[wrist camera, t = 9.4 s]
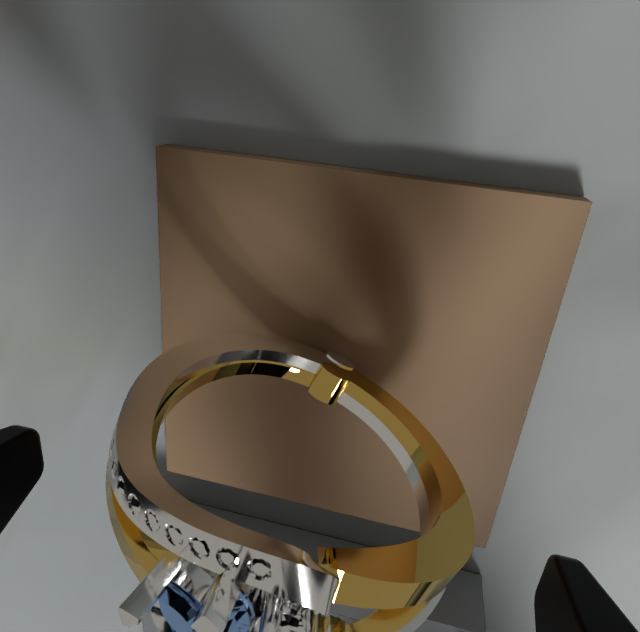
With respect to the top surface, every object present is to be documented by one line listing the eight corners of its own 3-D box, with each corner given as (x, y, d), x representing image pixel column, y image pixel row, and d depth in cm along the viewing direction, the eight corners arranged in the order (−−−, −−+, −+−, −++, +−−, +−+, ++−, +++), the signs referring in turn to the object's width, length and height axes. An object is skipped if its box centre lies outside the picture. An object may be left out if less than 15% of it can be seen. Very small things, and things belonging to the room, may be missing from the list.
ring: (485, 387, 13) (532, 760, 6) (420, 470, 14) (390, 851, 7) (242, 254, 13) (-17, 453, 6) (202, 350, 14) (-46, 605, 7)
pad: (585, 197, 11) (592, 202, 11) (483, 532, 15) (485, 548, 15) (168, 144, 13) (155, 146, 12) (175, 459, 17) (166, 470, 16)
